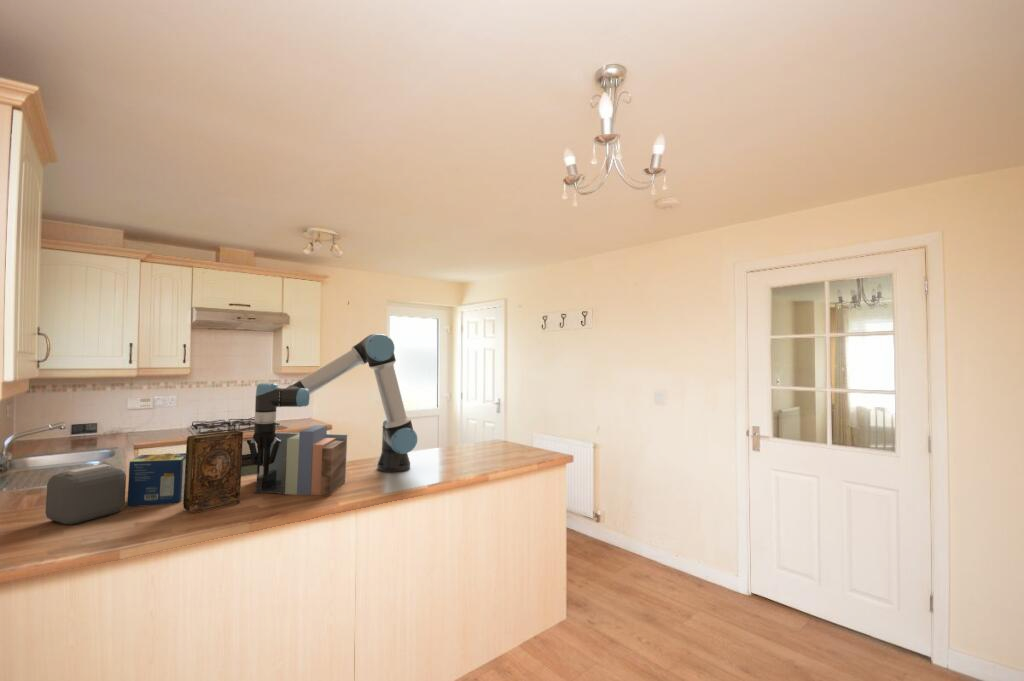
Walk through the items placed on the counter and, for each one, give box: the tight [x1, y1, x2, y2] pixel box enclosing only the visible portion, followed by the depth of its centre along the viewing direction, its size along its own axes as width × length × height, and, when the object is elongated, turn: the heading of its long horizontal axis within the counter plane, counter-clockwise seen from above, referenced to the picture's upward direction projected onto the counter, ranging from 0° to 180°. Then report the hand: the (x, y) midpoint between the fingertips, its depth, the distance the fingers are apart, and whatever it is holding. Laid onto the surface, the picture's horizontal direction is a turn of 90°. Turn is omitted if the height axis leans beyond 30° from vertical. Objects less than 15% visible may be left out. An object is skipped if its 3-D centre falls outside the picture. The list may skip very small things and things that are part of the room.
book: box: [182, 430, 244, 514], centre depth 162 cm, size 16×6×25 cm, turn 143°
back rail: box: [256, 432, 348, 484], centre depth 194 cm, size 36×1×20 cm, turn 92°
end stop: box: [320, 440, 346, 497], centre depth 186 cm, size 4×17×18 cm, turn 2°
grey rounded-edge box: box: [45, 463, 127, 525], centre depth 149 cm, size 16×11×16 cm
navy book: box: [296, 424, 328, 496], centre depth 185 cm, size 5×15×24 cm, turn 2°
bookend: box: [254, 457, 287, 495], centre depth 185 cm, size 12×16×13 cm
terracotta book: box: [310, 438, 336, 496], centre depth 185 cm, size 4×14×19 cm, turn 2°
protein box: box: [126, 452, 186, 507], centre depth 166 cm, size 10×15×16 cm
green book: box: [284, 434, 299, 495], centre depth 185 cm, size 4×15×21 cm, turn 2°
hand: (262, 481), depth 184 cm, fingers closed
